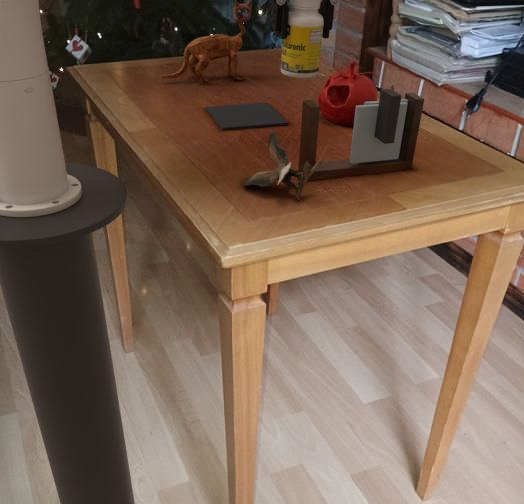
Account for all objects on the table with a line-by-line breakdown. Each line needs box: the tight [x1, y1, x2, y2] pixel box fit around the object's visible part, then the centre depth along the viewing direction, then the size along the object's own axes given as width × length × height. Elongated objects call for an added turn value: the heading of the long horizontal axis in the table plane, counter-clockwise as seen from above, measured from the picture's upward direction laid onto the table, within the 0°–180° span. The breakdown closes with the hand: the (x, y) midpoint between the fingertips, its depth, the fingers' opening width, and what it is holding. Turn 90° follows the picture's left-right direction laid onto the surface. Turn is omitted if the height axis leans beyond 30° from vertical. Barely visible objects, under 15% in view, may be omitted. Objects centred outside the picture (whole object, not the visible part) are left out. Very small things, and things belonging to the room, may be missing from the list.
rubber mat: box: [205, 102, 289, 131], centre depth 103 cm, size 11×11×1 cm
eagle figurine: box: [243, 131, 323, 201], centre depth 78 cm, size 8×7×9 cm
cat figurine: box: [160, 0, 253, 83], centre depth 115 cm, size 18×7×14 cm, turn 111°
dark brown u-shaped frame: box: [297, 92, 425, 181], centre depth 83 cm, size 16×3×10 cm, turn 108°
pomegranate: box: [317, 59, 378, 126], centre depth 100 cm, size 10×10×9 cm
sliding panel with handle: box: [349, 88, 408, 164], centre depth 81 cm, size 7×4×10 cm, turn 108°
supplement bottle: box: [280, 0, 324, 79], centre depth 84 cm, size 5×5×10 cm
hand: (301, 35), depth 84 cm, fingers closed on supplement bottle, 5 cm apart
